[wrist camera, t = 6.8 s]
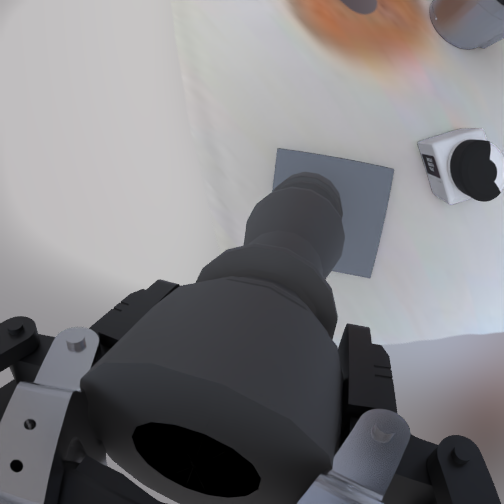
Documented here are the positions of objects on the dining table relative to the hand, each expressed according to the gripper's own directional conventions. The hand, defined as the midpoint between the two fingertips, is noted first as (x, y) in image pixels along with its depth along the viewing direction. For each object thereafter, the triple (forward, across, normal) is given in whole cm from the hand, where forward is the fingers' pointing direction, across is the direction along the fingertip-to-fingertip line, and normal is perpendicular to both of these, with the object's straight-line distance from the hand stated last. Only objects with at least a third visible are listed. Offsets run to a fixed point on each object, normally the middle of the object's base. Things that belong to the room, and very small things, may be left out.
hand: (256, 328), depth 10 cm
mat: (+36, -2, +4) cm, 36 cm away
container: (+36, -18, -7) cm, 41 cm away
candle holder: (+20, 0, 0) cm, 20 cm away
